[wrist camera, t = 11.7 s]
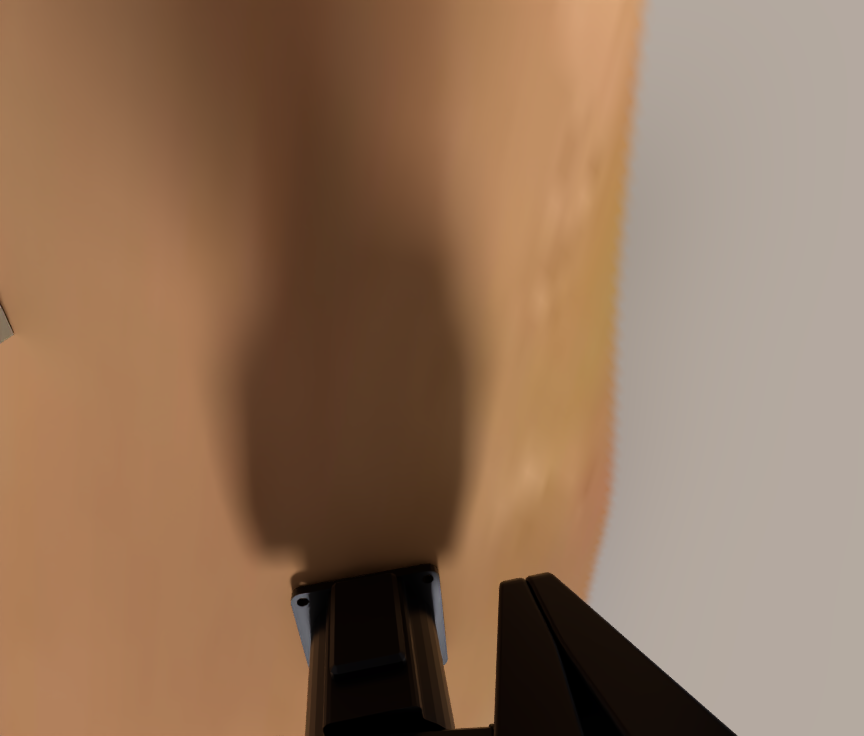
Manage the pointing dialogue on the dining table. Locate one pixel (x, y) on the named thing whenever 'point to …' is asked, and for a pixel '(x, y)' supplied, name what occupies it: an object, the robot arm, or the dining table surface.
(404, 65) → the dining table surface
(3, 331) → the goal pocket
